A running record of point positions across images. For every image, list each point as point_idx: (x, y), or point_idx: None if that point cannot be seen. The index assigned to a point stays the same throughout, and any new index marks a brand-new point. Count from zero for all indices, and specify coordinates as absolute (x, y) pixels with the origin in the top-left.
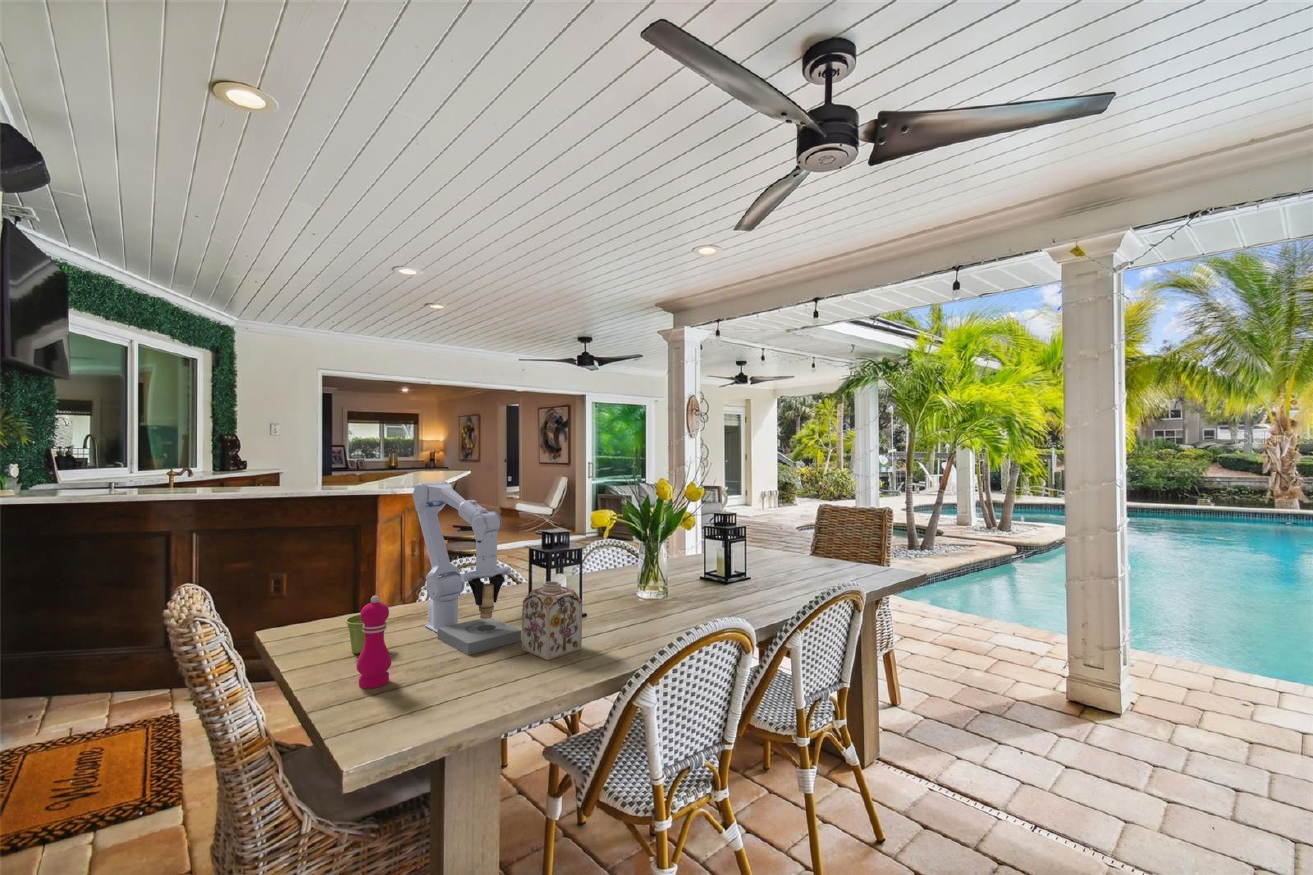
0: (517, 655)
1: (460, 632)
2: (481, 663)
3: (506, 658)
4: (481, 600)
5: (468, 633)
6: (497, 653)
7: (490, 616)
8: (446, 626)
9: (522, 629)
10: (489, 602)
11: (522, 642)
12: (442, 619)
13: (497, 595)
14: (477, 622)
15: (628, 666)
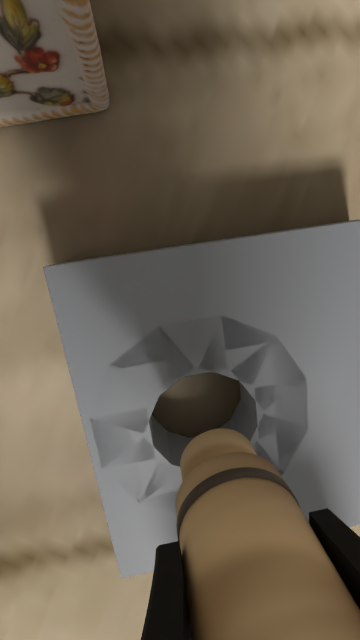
0: (161, 46)
1: (335, 413)
2: (354, 59)
3: (228, 41)
4: (346, 547)
5: (313, 378)
6: (234, 155)
7: (204, 438)
8: None
9: (93, 20)
10: (254, 514)
11: (105, 80)
12: None
13: (152, 617)
14: None
15: None
